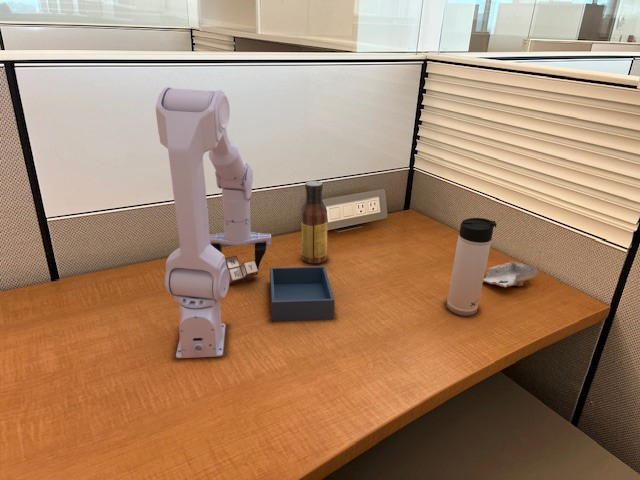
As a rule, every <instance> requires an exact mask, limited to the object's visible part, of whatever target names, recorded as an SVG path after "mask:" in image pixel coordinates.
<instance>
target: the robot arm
mask: <svg viewBox="0 0 640 480" xmlns="http://www.w3.org/2000/svg"><path fill="white" fill-rule="evenodd" d="M230 110H231V109H230V101H229V98H228V96H227V95H226V93H225V91H223V90H206V89H205V90H203V89H187V88H173V87H170V86H166V87H164V88H163V89H162V90H161V92H160V93H159V94H158V97H157V101H156V104H155V116H156V125H157V132H158V136H159V137H158V138H159V142H160V144H161V145H162V146H164V147H165V148H166V149H167V151H168V152H167V153H168V159H169V168H170V175H171V184H172V193H173V199H174V200H173V201H174V209H175V217H176V226H177V234H178V235H177V236H178V242H179V247H177V248H176V249H175V250H173V251H172V252H171V253H170V254H169V256H168V257H167V259H166V261H165V275H164V288H165V290H166V292H167V294H168V295H169V296H172V297H173V302H175V303H178V312H179V313H178V314H179V327H178V329H179V330H178V333H179V341H178V344H177V348H176V353H175V358H176V359H192V358H195V359H196V358H213V357H215V358H216V357H222V356H224V348H225V337H226V323H224V322H222V307H221V306H222V305H221V301H223V299H224V298H225V297H226V296H227V293H228V290H229V288H230V284H229V279H230V276H229V270H228V268H227V265H226V260H225V258H226V255H224V254H223V251H222V250H223V249H222V248H223V247H222V246H244V245H254V260H255V263H256V266H257V269H258V270H259V268H260V264H261V261H262V260H263V257H264V256H265V254H266V251H267V246H272V234H271V233H262V232H254V231H252V229H251V228H252V227H251V197H252V194H253V182H254V170H253V166H251V165H249V164H248V163H247V162H245V161H244V158H243V155H242V153H241V151H240V149H239V147H238V144H237V143H236V142H235V141H233V140H230V139H229V135H228V132H227V128H228V125H229V122H230ZM207 152H208V158H209V161H210V162H211V164H212V166H213V167H214V169H215V171H214V174H215V175H214V176H215V179H216V180H215V181H216V186H217V188H218V189H219V190H221V200H222V219H223V232H218V233H212V234H211V233H210V222H209V212H208V211H209V210H208V200H207V188H206V179H205V178H206V177H205V176H206V175H205V168H204V155H205V153H207ZM258 275H259V271H258V272H257V273H256V274H255V276H258Z"/></svg>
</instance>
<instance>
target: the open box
mask: <svg viewBox="0 0 640 480" xmlns="http://www.w3.org/2000/svg"><path fill="white" fill-rule="evenodd" d="M269 289H270V307H271V309H270V310H271V322H285V321H286V322H287V321H308V320H309V321H311V320H333V319H334V315H335V314H334V313H335V297H334V294H333V290H332V287H331V283H330V279H329V275H328V272H327V268H326V266H325V265H317V266H316V265H315V266H277V267H269Z"/></svg>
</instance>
